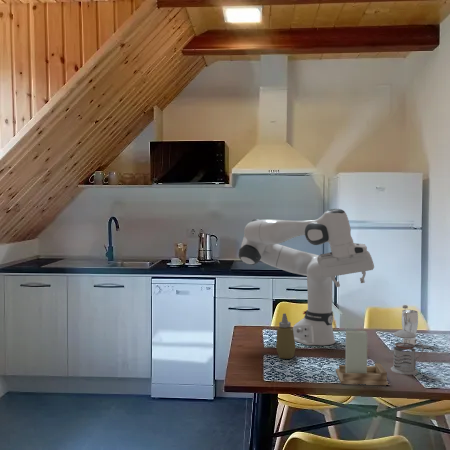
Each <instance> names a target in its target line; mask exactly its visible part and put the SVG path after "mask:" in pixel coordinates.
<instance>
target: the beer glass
mask: <svg viewBox="0 0 450 450" xmlns="http://www.w3.org/2000/svg"><path fill="white" fill-rule="evenodd" d="M401 311H402V312H401V328H402V330H404V328H405V330H407V331H410V332H412V333H414V334H415V335H416V337H415V338H405V343H409V344H413V345H414V346H417V345H418V344H417V343H418V342H416V343H415V340H416V339H417V332H418V331H417V330H418V325H419V315H418V314H419V313H418V311H417V310H414V309H402V310H401ZM401 342H402V343H404V338H402V341H401Z"/></svg>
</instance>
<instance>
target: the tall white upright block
mask: <svg viewBox="0 0 450 450" xmlns="http://www.w3.org/2000/svg"><path fill="white" fill-rule="evenodd" d="M344 362H345V364H344V365H345V373H367V366H368V332H367V331H366V330H345V361H344Z"/></svg>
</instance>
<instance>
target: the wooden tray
mask: <svg viewBox="0 0 450 450" xmlns="http://www.w3.org/2000/svg"><path fill="white" fill-rule="evenodd" d="M338 366H339V367H338V368H335V373H336V375H337V378H338V380H339V382H341V383H340V384H341V385H358V384H366V386H386V385H388V386H389V383H388V372H387V371H386V369H385V368H384V366H383V365H382V364H381V363H374V365H367V373H345V364H339V365H338Z"/></svg>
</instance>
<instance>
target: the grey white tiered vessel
mask: <svg viewBox="0 0 450 450" xmlns="http://www.w3.org/2000/svg"><path fill="white" fill-rule="evenodd" d="M408 308H409V307H408V305H407V304H403V305H402V309H408ZM393 336H394V337H396V338H400V339H403V338H404V343H402V342H403V341H399V342H395V343H394V347H393V366H392V367H390V370H391V372H393V373H396V374H399V375H400V374H401V375H409V376H410V375H416V374H418V373H419V371H418V369H417V368H416V366H417V365H416V364H417V361H416V360H419V359H420V358H422V356H423V354H424V350H425V349H424V345H423V343H422V342H421V340H419V339H418V338H417V334H416V335H415V334H414V333H412V332H410V331H407V330H405V328H404V330H403V329H398V330H397V331H395V332H393ZM415 337H416V340H415V343H419V344H420V346H421V349H422V350H421V355H419V356H417V357H416V349H415V346H416V345H415V346H414V345H413V344H409V343H405V338H415Z"/></svg>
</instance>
